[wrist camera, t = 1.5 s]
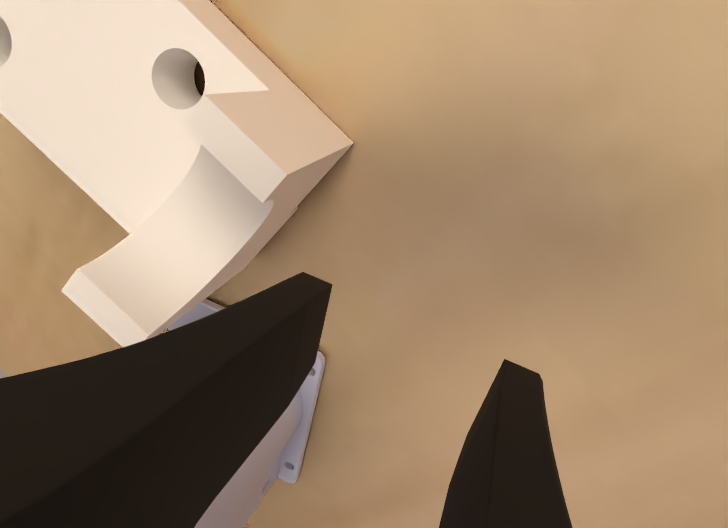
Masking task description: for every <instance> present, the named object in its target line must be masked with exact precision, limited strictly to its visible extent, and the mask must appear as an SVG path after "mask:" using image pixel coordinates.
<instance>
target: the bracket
mask: <svg viewBox="0 0 728 528" xmlns="http://www.w3.org/2000/svg"><path fill="white" fill-rule="evenodd" d="M198 61H199V63H200V65H201V67H202V69H203V72H204V76H205V89H204V92H203V95H202V96H201V95H200V94H199V92H198V90H197V88H196V85H195V81H194V71H195V67H196V64H197V62H198ZM0 113H1V114H2V115H3V116H4V117H5V118H6V119H7V120H9V121H10V122H11V123H12V124H13V125H14V126H15V127H16V128H17V129H18V130H19V131H20V132H21V133H22V134H23V135H25V136H26V137H27V138H28V139H29V140H30V141H31V142H32V143H33V144H34V145H35V146H36V147H37V148H38V149H40V150H41V151H42V152H43V153H44V154H45V155H46V156H47V157H48V158H49V159H50V160H51V161H52V162H53V163H54V164H56V165H57V166H58V167H59V168H60V169H61V170H62V171H63V172H64V173H65V174H66V175H67V176H68V177H69V178H70V179H72V180H73V181H74V182H75V183H76V184H77V185H78V186H79V187H80V188H81V189H82V190H83V191H84V192H85V193H87V194H88V195H89V196H90V197H91V198H92V199H93V200H94V201H95V202H96V203H97V204H98V205H99V206H100V207H101V208H103V209H104V210H105V211H106V212H107V213H108V214H109V215H110V216H111V217H112V218H113V219H114V220H115V221H116V222H117V223H119V224H120V225H121V226H122V227H123V228H124V229H125V230H126V231H127V232H128V233H129V234H130V235H128V236H127V237H126V238H125V239H123V240H122V241H121V242H119V243H118V244H117V245H115V246H114V247H113V248H111V249H110V250H108V251H107V252H105V253H104V254H102V255H101V256H99V257H98V258H96V259H94V260H93V261H91V262H89V263H87V264H86V265H84V266H82V267H80V268H78V269H77V270H76V271H75V272H74V274H73V275H72V277H71V278H70V279H69V281H68V282H67V283H66V285H65V286H64V288H63V289H62V290H61V291H62V292H63V293H64V294H65V295H66V296H67V297H68V298H69V299H71V300H72V301H73V302H74V303H75V304H76V305H77V306H78V307H79V308H80V309H81V310H83V311H84V312H85V313H86V314H87V315H88V316H89V317H90V318H91V319H92V320H93V321H95V322H96V323H97V324H98V325H99V326H100V327H101V328H102V329H103V330H104V331H105V332H107V333H108V334H109V335H110V336H111V337H112V338H113V339H114V340H115V341H116V342H117V343H119V344H120V345H121V346H122V347H126V346H129V345H132V344H135V343H138V342H141V341H144V340H147V339H150V338H152V337H155V336H157V335H158V334H160V333H161V332H162V331H164V330H165V329H166V328H168V327H169V326H170V325H171V324H173V323H174V322H175V321H177V320H178V319H179V318H181V317H182V316H183V315H184V314H186V313H187V312H188V311H190V310H191V309H192V308H194V307H195V306H196V305H197V304H199V303H200V302H201V301H203V300H204V299H205V298H206V297H208V296H209V295H210V294H212V293H213V292H214V291H216V290H217V289H218V288H219V287H221V286H222V285H223V284H225V283H226V282H227V281H229V280H230V279H231V278H232V277H234V276H235V275H236V274H238V273H239V272H240V271H242V270H243V269H244V268H245V267H246V266H247V265H248V264H249V263H250V261H251V260H252V259H253V258H254V257H255V256H256V255H257V254H258V253H259V252H260V250H261V249H262V248H263V247H264V246H265V245H266V244H267V243H268V242H269V240H270V239H271V238H272V237H273V236H274V235H275V234H276V233H277V232H278V230H279V229H280V228H281V227H282V226H283V225H284V224H285V223H286V222H287V220H288V219H289V218H290V217H291V216H292V215H293V214H294V213H295V212H296V210H297V209H298V207H297V206H298V205H299V203H300V202H301V201H302V200H303V199H304V198H305V197H306V196H307V195H308V193H309V192H310V191H311V190H312V189H313V188H314V187H315V186H316V185H317V183H318V182H319V181H320V180H321V179H322V178H323V177H324V176H325V175H326V173H327V172H328V171H329V170H330V169H331V168H332V167H333V166H334V165H335V163H336V162H337V161H338V160H339V159H340V158H341V157H342V156H343V154H344V153H345V152H346V151H347V150H348V149H349V148H350V147H351V146H352V144H353V142H352V141H351V140H350V139H349V138H348V137H347V136H346V135H345V134H344V133H343V132H342V131H341V130H340V129H339V128H338V127H337V126H336V125H335V124H334V123H333V122H332V121H331V120H330V119H329V118H328V117H327V116H326V115H325V114H324V113H323V112H322V111H321V110H320V109H319V108H318V107H317V106H316V105H315V104H314V103H313V102H312V101H311V100H310V99H309V98H308V97H307V96H306V95H305V94H304V93H303V92H302V91H301V90H300V89H299V88H298V87H297V86H296V85H295V84H294V83H293V82H292V81H291V80H290V79H289V78H288V77H287V76H286V75H284V74H283V73H282V72H281V71H280V70H279V69H278V68H277V67H276V66H275V65H274V64H273V63H272V62H271V61H270V60H269V59H268V58H267V57H266V56H265V55H264V54H263V53H262V52H261V51H260V50H259V49H258V48H257V47H256V46H255V45H254V44H253V43H252V42H251V41H250V40H249V39H248V38H247V37H246V36H245V35H244V34H243V33H242V32H241V31H240V30H239V29H238V28H237V27H236V26H235V25H234V24H233V23H232V22H231V21H230V20H229V19H228V18H227V17H226V16H225V15H224V14H223V13H222V12H221V11H220V10H219V9H218V8H217V7H216V6H215V5H214V4H213V3H212V2H211V1H209V0H0Z"/></svg>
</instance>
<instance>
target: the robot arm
mask: <svg viewBox="0 0 728 528" xmlns="http://www.w3.org/2000/svg"><path fill="white" fill-rule="evenodd" d="M331 288H332V284H330V283H327V282H325V281H323V280H320V279H318V278H316V277H314V276H311V275H309V274H307V273H304V272H302V273H300V274H297V275H295V276H293V277H291V278H288V279H286V280H284V281H282V282H280V283H278V284H276V285H274V286H272V287H270V288H267V289H265V290H263V291H261V292H259V293H257V294H255V295H253V296H251V297H248V298H246V299H244V300H242V301H240V302H238V303H235V304H233V305H231V306H229V307H226V308H225V307H223V306H221V305H218V304H216V303H214V302H212V301H210V300H208V299H204V300H203V301H201V302H200V303H199V304H197V305H196V306H195V307H194V308H192V309H191V310H190V311H188V312H187V313H186V314H184V315H183V316H182V317H181V318H179V319H178V320H177V321H175V322H174V323H173V324H171V325H170V326H169V327H168V332H165V333H163V334H160V335H158V336H155V337H152V338H150V339H147V340H144V341H141V342H138V343H135V344H132V345H129V346H126V347H123V348H120V349H116V350H113V351H110V352H106V353H103V354H100V355H96V356H93V357H89V358H86V359H82V360H78V361H74V362H70V363H66V364H62V365H57V366H53V367H49V368H45V369H40V370H36V371H32V372H28V373H23V374H19V375H15V376H11V377H6V378H1V379H0V528H244V527H245V525H246V524H247V522H248V520H249V519H250V517H251V516H252V514H253V513H254V511H255V510H256V508H257V507H258V505H259V504H260V502H261V500H262V499H263V497H264V496H265V494H266V493H267V491H268V490H269V488H270V487H271V485H272V484H273V482H274V481H275V479H276V477H277V478H279V479H281V480H282V481H284V482H286V483H289V484H293V483H295V482H296V480H297V479H298V477H299V473H300V469H301V465H302V461H303V456H304V452H305V448H306V444H307V439H308V435H309V431H310V427H311V422H312V418H313V414H314V410H315V405H316V401H317V397H318V393H319V388H320V384H321V380H322V376H323V371H324V367H325V357H324V355H323V354H322V353H321V352H319V351H318V348H319V343H320V338H321V334H322V329H323V325H324V320H325V316H326V311H327V307H328V302H329V298H330V293H331ZM312 368H313V369H314V370H313V369H312ZM439 528H572V524H571V521H570V518H569V514H568V510H567V507H566V503H565V499H564V495H563V491H562V487H561V483H560V479H559V474H558V470H557V466H556V462H555V457H554V452H553V448H552V443H551V437H550V432H549V426H548V421H547V414H546V407H545V400H544V391H543V381H542V379H541V377H540V375H539V374H538V373H536V372H534V371H531V370H529V369H527V368H524V367H522V366H520V365H517V364H515V363H513V362H510V361H508V360H506V359H504V361H503V363H502V365H501V367H500V369H499V371H498V373H497V375H496V377H495V379H494V381H493V383H492V385H491V387H490V389H489V392H488V394H487V396H486V398H485V400H484V402H483V404H482V406H481V408H480V410H479V412H478V414H477V416H476V418H475V420H474V422H473V424H472V426H471V428H470V430H469V432H468V434H467V437H466V440H465V442H464V445H463V448H462V451H461V453H460V456H459V459H458V462H457V465H456V467H455V470H454V473H453V476H452V479H451V482H450V484H449V488H448V492H447V497H446V501H445V505H444V509H443V513H442V517H441V521H440V526H439Z"/></svg>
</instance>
